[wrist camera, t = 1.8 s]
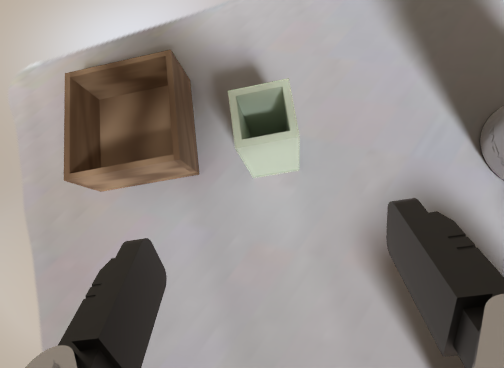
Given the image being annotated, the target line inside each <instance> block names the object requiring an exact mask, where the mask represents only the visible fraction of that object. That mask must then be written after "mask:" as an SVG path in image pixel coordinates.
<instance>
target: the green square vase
mask: <svg viewBox="0 0 504 368" xmlns="http://www.w3.org/2000/svg"><path fill="white" fill-rule="evenodd" d="M228 97H229V105H230V113H231V120H232V128H233V136H234V143H235V149H236V150H237V152H238V154H239V155H240V157H241V159H242V160H243V162H244V164H245V165H246V167H247V168H248V170H249V172H250V173H251V175H252V177H253V178H258V177H264V176H270V175H276V174H281V173H287V172H293V171H299V138H300V136H299V131H298V126H297V120H296V115H295V109H294V104H293V99H292V93H291V88H290V83H289V78H287V79H283V80H278V81H273V82H268V83H263V84H258V85H253V86H249V87H244V88H239V89H234V90H229V91H228Z"/></svg>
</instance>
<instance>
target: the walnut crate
mask: <svg viewBox="0 0 504 368" xmlns="http://www.w3.org/2000/svg"><path fill="white" fill-rule="evenodd" d="M198 174H199V166H198V155H197V145H196V135H195V125H194V115H193V105H192V95H191V85H190V79H189V78H188V76H187V75H186V73H185V71H184V70H183V68H182V67H181V65H180V64H179V62H178V60H177V59H176V57H175V56H174V54H173V52H172V51H171V50H167V51H162V52H158V53H154V54H149V55H145V56H140V57H136V58H131V59H127V60H123V61H118V62H114V63H109V64H105V65H101V66H96V67H92V68H87V69H83V70H78V71H74V72H70V73H65V118H64V181H67V182H71V183H74V184H77V185H81V186H84V187H87V188H90V189H94V190H97V191H100V192H102V191H107V190H113V189H119V188H124V187H130V186H136V185H141V184H147V183H153V182H158V181H164V180H170V179H176V178H181V177H187V176H193V175H198Z"/></svg>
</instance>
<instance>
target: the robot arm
mask: <svg viewBox="0 0 504 368" xmlns="http://www.w3.org/2000/svg"><path fill="white" fill-rule="evenodd" d="M480 145H481V150H482V154H483V156H484V158H485V160H486V163H487V164H488V165H489V167H490V168H491V169H492V171H493V172H494V173H496V174H497V175H498V176H499V177H500V178H501V179H503V180H504V106H503V107H501V108H500V109H498V110H497V111H495V112H494V113H493V114H492V115H491V116H490V117H489V118H488V119H487V121H486V123H485V124H484V126H483V129H482V132H481V140H480ZM386 239H387V246H388V250H389V253H390V256H391V258H392V260H393V262H394V264H395V266H396V268H397V269H398V271H399V273H400V275H401V277H402V279H403V281H404V283H405V285H406V287H407V289H408V291H409V292H410V294H411V296H412V298H413V300H414V302H415V304H416V306H417V308H418V310H419V312H420V313H421V315H422V317H423V319H424V321H425V323H426V325H427V327H428V329H429V331H430V333H431V334H432V336H433V338H434V340H435V342H436V344H437V346H438V348H439V350H440V352H441V354H442V355H443V356H453V355H459V357H460V359H461V361H462V362H463V364H464V366H465V368H504V277H503V276H502V275H501V274H500V273H499V272H498V270H497V269H496V268H495V267H494V266H493V265H492V264H491V263H490V261H489V260H488V259H487V258H486V257H485V256H484V255H483V254H482V252H481V251H480V250H479V249H478V248H476V247H475V244H474V243H473V242H472V241H471V240H470V239H469V238H468V237H466V235H465V233H464V232H463V231H462V230H461V229H460V228H459V226H458V225H457V224H456V223H455V222H454V221H453V220H451V219H449V218H447V217H446V216H444V215H442V214H441V213H439V212H431V213H428V212H427V211H426V209H425V208H424V207H423V206H422V204H421V203H420V202H419V201H418V200H417V199H416V198H412V199H405V200H399V201H392V202H389V204H388V214H387V236H386ZM165 287H166V272H165V268H164V266H163V264H162V262H161V260H160V258H159V256H158V254H157V252H156V250H155V248H154V246H153V244H152V242H151V241H150V240H149V239H148V238H145V239H139V240H132V241H126V242H124V243H123V245H122V246H121V248H120V250H119V252H118V254H117V256H116V258H112V259H111V260H110V261H109V262H108V263H107V264H106V265H105V266H104V267H103V268H102V269H101V270H100V271H99V273H98V275H97V276H96V278H95V280H94V282H93V284H92V287H91V288H90V289H89V291H88V293H87V294H86V299H84V300H83V301H82V303H81V305H80V307H79V309H78V310H77V312H76V314H75V316H74V318H73V319H72V321H71V323H70V325H69V326H68V328H67V330H66V332H65V334H64V335H63V337H62V339H61V341H60V343H59V344H58V346H55V347H52V348H50V349H48V350H46V351H44V352H42V353H41V354H40V355H38V356H37V357H36V358H34V359H33V360H32V361H31V362H30V363H29V364H28V365H27V366H26V367H25V368H141V366H142V363H143V360H144V356H145V353H146V350H147V346H148V343H149V340H150V336H151V333H152V330H153V327H154V323H155V320H156V317H157V313H158V310H159V307H160V303H161V300H162V297H163V294H164V290H165Z"/></svg>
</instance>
